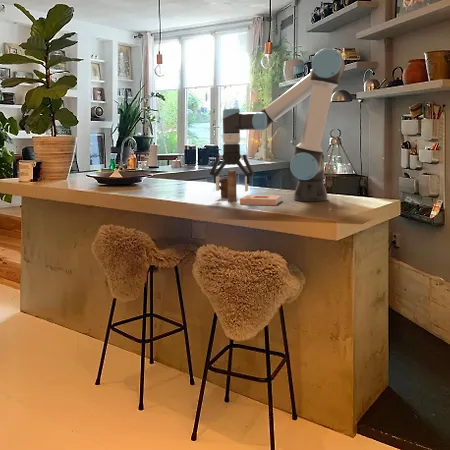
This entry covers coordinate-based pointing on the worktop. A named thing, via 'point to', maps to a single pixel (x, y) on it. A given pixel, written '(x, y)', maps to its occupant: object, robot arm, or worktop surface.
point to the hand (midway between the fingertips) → (232, 190)
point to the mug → (224, 187)
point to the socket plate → (261, 199)
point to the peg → (231, 185)
